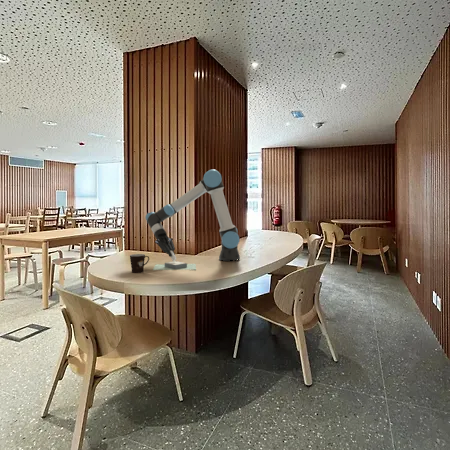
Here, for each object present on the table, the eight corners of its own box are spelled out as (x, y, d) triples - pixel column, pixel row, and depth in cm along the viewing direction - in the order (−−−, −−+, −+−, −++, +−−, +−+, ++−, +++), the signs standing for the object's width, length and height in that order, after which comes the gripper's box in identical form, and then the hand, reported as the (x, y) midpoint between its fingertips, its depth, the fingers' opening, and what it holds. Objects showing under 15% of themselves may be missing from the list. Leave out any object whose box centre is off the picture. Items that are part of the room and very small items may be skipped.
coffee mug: (130, 273, 178) (130, 256, 178) (129, 271, 186) (129, 254, 186) (151, 272, 183) (151, 255, 182) (149, 269, 191) (149, 253, 190)
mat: (195, 264, 207) (195, 263, 207) (196, 270, 189) (196, 269, 189) (155, 265, 204) (155, 264, 204) (152, 271, 186) (152, 270, 186)
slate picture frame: (164, 262, 196) (175, 265, 188) (176, 260, 202) (186, 263, 195) (164, 266, 196) (175, 269, 188) (176, 265, 202) (186, 267, 195)
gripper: (164, 234, 213) (180, 262, 202) (148, 236, 203) (163, 264, 193) (169, 227, 209) (185, 255, 198) (153, 228, 199) (168, 257, 189)
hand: (174, 259), depth 196 cm, fingers closed
